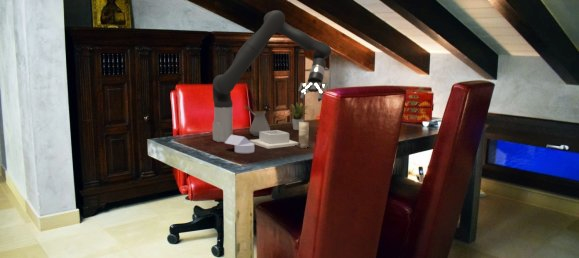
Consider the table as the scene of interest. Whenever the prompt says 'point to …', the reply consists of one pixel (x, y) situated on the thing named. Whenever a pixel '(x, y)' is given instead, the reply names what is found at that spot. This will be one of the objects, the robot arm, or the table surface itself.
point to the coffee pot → (258, 122)
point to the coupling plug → (303, 134)
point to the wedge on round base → (240, 144)
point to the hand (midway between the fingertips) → (310, 100)
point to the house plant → (297, 116)
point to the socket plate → (273, 139)
